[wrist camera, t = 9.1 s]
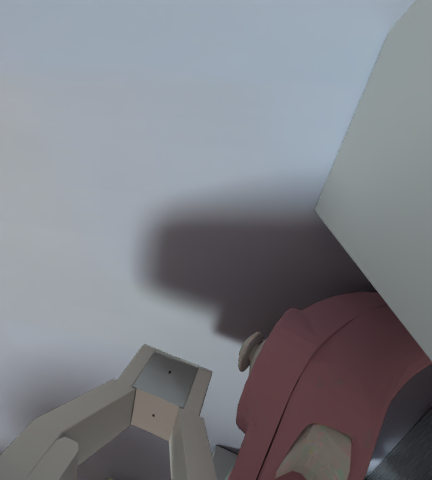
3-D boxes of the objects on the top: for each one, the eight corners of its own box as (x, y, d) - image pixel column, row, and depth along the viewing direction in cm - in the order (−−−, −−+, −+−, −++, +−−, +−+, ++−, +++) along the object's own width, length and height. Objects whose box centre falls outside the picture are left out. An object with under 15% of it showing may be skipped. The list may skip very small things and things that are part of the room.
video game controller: (308, 251, 10) (197, 339, 4) (452, 301, 7) (590, 631, 2) (260, 408, 13) (166, 564, 8) (347, 478, 11) (295, 771, 5)
